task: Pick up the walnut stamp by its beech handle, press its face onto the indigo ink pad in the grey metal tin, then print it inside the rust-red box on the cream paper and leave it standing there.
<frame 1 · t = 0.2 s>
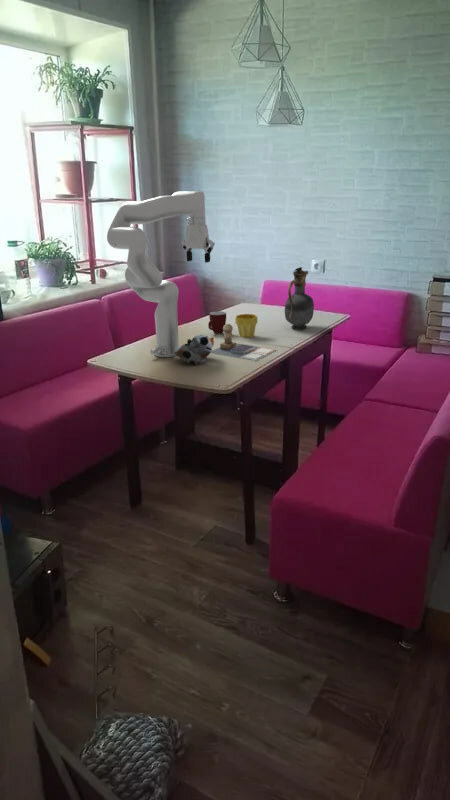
hand: (198, 261, 263), 36 cm above the table, tool pointing down, fingers open, 9 cm apart
plant pot: (246, 336, 281), on the table
ink pad: (242, 349, 256), on the desk mat, point 1 cm above the table
desk mat: (242, 352, 256), on the table
lucky cat figurine: (195, 361, 247), on the table
pitcher: (297, 329, 292), on the table
paper sheet: (258, 355, 252), resting on desk mat
mug: (217, 334, 286), on the table
stamp: (228, 348, 260), point 1 cm above the table, touching desk mat
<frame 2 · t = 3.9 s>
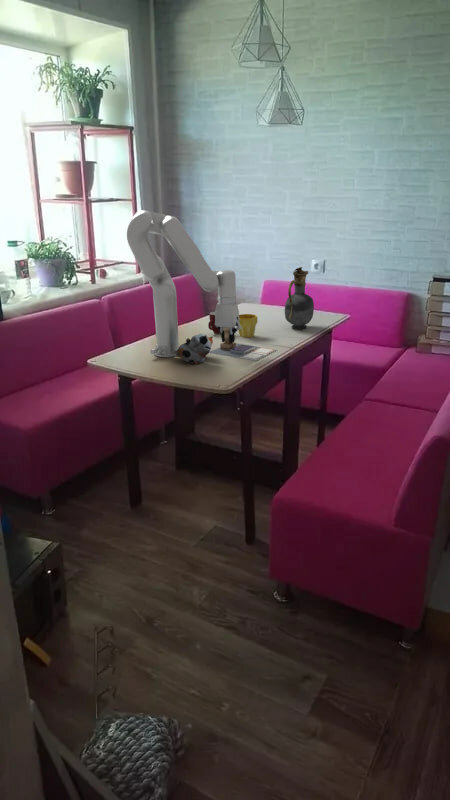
hand: (228, 341, 259), 4 cm above the table, tool pointing down, fingers closed on stamp, 3 cm apart
lucky cat figurine: (194, 360, 248), on the table
stamp: (228, 348, 260), point 1 cm above the table, touching desk mat, gripper
everything else where it was.
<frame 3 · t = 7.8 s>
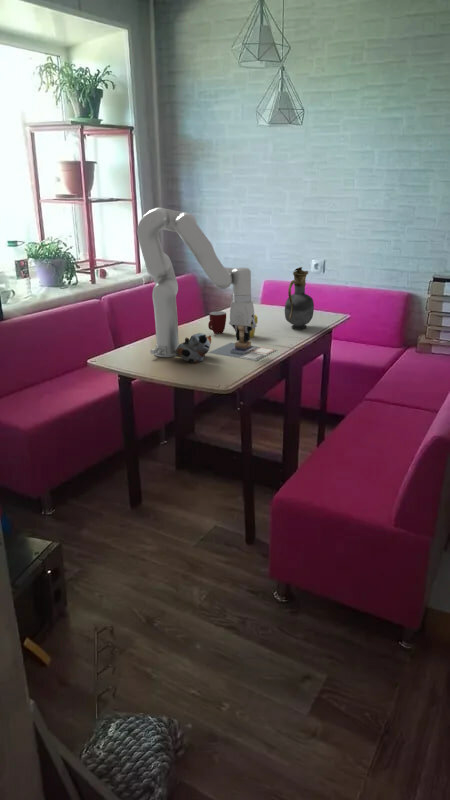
hand: (243, 340, 254), 5 cm above the table, tool pointing down, fingers closed on stamp, 3 cm apart
lucky cat figurine: (193, 359, 249), on the table
stamp: (243, 347, 256), point 2 cm above the table, touching gripper, ink pad
everything else where it was.
when the fingers open (4 cm above the table, at t = 11.7 s): stamp stays where it is, resting on paper sheet.
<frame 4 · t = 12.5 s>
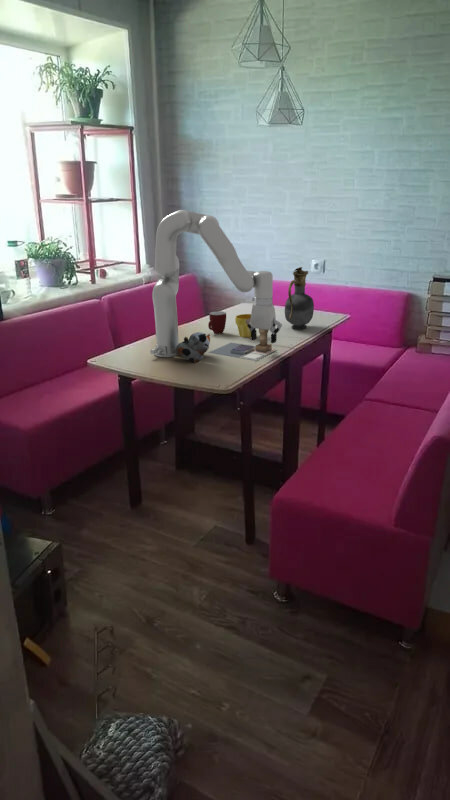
hand: (263, 341, 254), 5 cm above the table, tool pointing down, fingers open, 9 cm apart
lucky cat figurine: (192, 358, 250), on the table, touching arm
stamp: (263, 350, 255), point 1 cm above the table, touching paper sheet
everything else where it was.
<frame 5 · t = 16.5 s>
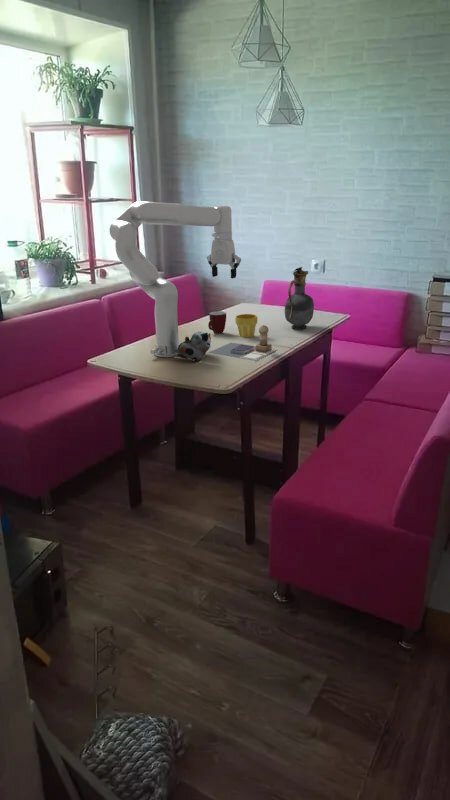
hand: (224, 277, 258), 30 cm above the table, tool pointing down, fingers open, 9 cm apart
lucky cat figurine: (194, 358, 251), on the table
everything else where it was.
at the end: stamp 0.1 cm from the target spot on the paper sheet, point 0.8 cm above the paper sheet's base; stamp tilted 0°; the gripper is holding nothing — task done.
